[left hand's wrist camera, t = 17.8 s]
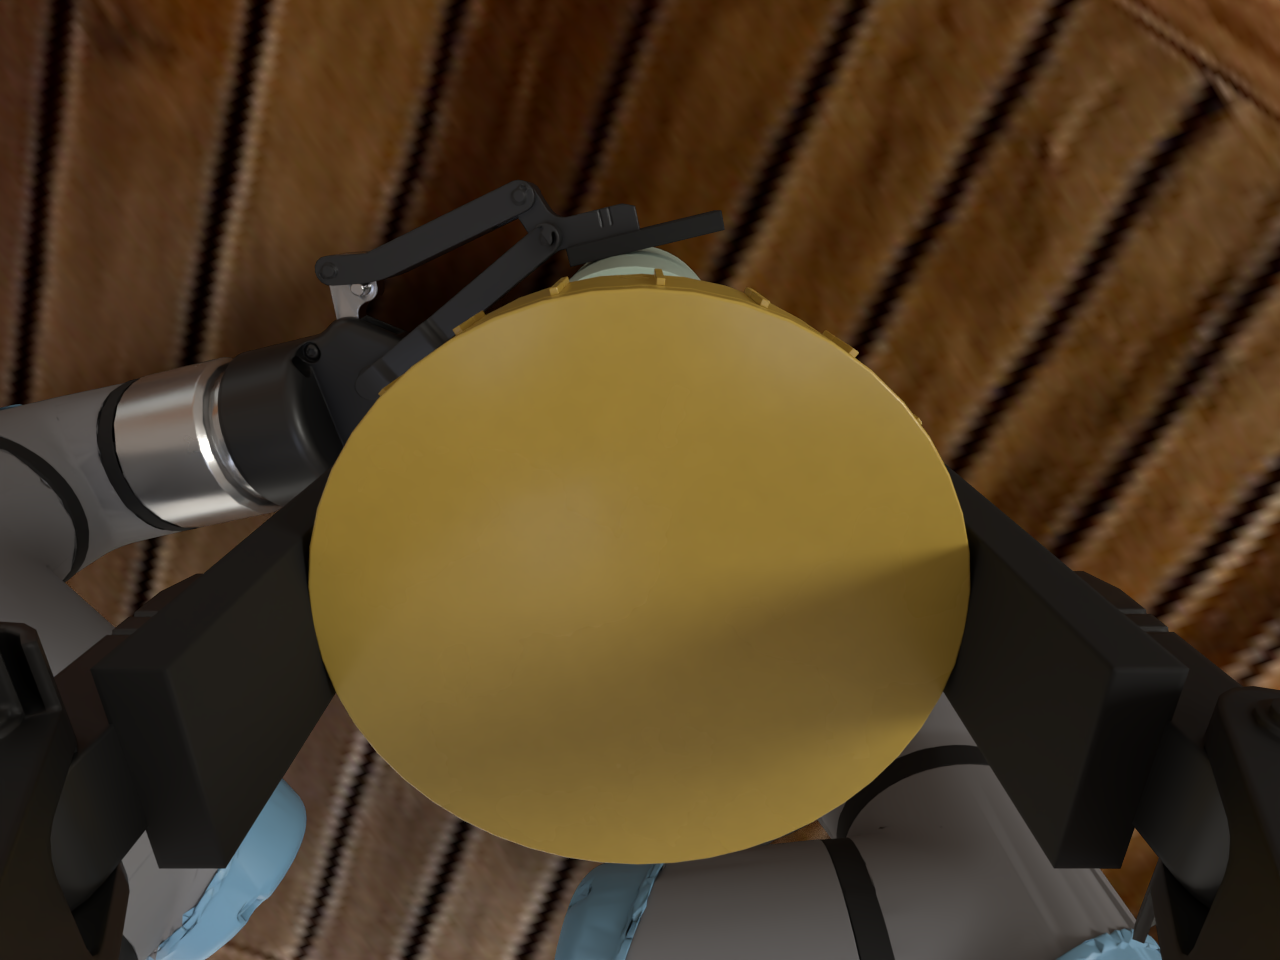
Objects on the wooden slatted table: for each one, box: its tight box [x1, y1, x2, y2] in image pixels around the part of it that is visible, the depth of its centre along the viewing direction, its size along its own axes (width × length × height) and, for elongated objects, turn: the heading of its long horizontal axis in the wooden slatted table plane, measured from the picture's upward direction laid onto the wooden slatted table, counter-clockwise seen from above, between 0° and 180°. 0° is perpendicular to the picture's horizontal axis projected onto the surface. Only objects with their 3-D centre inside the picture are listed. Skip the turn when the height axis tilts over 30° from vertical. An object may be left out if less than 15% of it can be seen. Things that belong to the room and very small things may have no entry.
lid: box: [308, 269, 970, 864], centre depth 11 cm, size 10×10×2 cm
